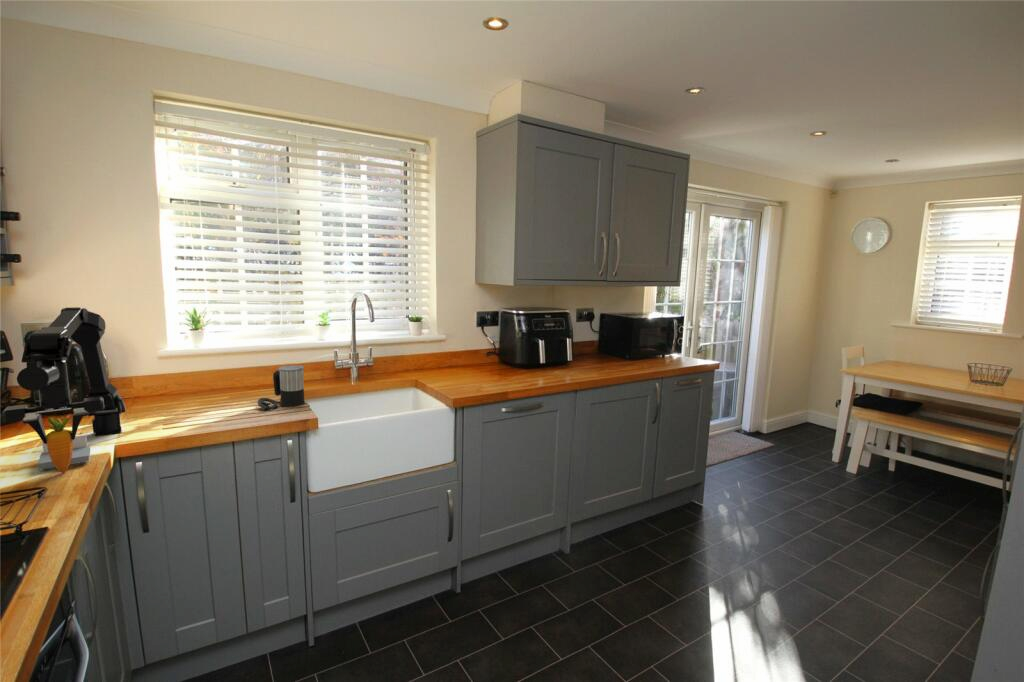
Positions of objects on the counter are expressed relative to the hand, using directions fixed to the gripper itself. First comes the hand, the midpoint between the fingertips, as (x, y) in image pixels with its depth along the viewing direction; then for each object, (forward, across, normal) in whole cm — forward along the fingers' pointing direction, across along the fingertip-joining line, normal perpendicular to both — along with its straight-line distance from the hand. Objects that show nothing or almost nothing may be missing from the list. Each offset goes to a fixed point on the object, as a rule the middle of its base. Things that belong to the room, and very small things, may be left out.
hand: (59, 441), depth 127 cm
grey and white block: (+8, 0, -8) cm, 12 cm away
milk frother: (+9, -62, -36) cm, 72 cm away
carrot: (+9, 0, 0) cm, 9 cm away
